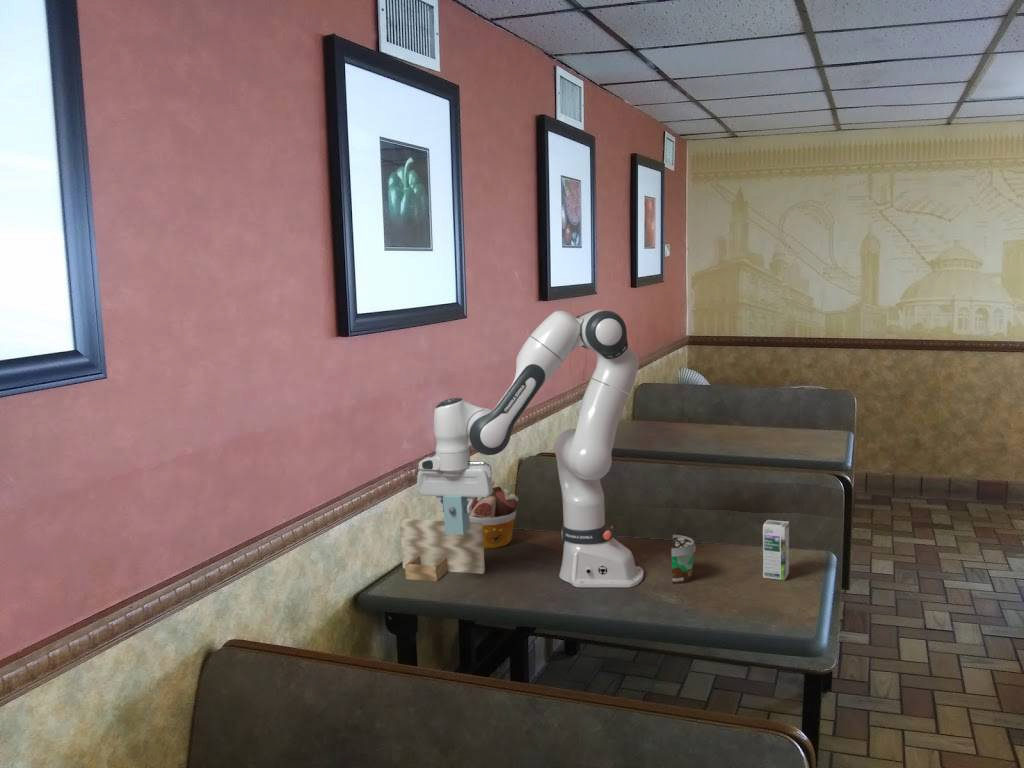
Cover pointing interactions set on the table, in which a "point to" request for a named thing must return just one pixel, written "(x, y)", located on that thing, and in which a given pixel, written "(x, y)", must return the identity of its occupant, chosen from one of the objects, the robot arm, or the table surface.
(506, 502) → the bucket of meat
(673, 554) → the food container
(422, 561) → the cleat board
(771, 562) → the syrup box
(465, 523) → the cabinet block
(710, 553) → the table surface
